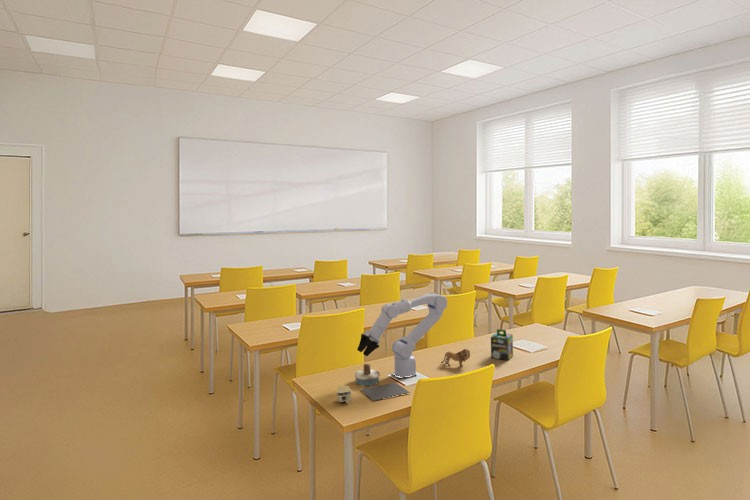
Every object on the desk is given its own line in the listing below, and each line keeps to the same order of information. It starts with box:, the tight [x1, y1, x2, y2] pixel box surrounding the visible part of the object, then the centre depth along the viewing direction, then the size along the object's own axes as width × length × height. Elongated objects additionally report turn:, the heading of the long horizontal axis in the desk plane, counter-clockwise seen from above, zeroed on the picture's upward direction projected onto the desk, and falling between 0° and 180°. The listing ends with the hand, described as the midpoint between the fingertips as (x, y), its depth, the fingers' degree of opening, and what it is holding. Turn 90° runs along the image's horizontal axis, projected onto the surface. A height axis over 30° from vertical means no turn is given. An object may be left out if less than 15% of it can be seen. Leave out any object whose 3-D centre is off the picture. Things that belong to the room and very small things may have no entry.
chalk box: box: [490, 328, 514, 361], centre depth 236 cm, size 9×9×15 cm
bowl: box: [355, 376, 380, 387], centre depth 206 cm, size 10×10×3 cm
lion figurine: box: [440, 348, 471, 369], centre depth 225 cm, size 15×5×9 cm, turn 67°
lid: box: [354, 363, 381, 380], centre depth 206 cm, size 11×11×5 cm
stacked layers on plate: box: [336, 385, 352, 404], centre depth 185 cm, size 10×9×6 cm
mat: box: [360, 382, 411, 402], centre depth 194 cm, size 17×13×1 cm
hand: (362, 353), depth 204 cm, fingers open, 7 cm apart
